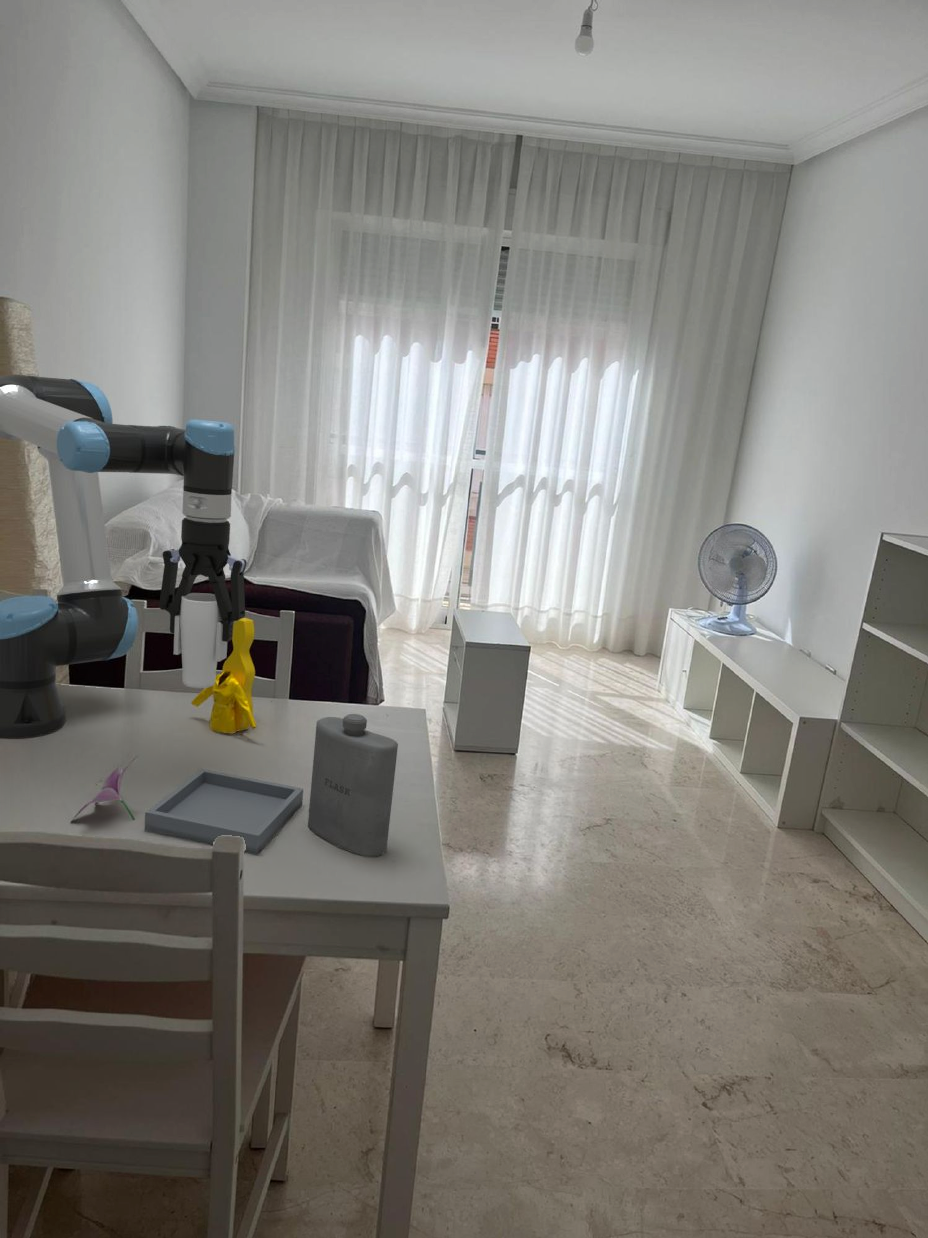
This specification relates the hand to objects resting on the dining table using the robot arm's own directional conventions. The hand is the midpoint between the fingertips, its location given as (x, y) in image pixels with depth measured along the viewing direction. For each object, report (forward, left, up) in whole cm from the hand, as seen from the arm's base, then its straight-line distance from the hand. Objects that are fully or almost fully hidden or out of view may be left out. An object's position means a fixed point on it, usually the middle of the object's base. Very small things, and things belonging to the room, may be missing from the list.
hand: (200, 655), depth 153 cm
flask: (+31, -11, -22) cm, 39 cm away
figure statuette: (-4, +23, -22) cm, 32 cm away
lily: (-4, -19, -22) cm, 29 cm away
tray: (+12, -12, -21) cm, 27 cm away
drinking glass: (0, 0, -5) cm, 5 cm away
